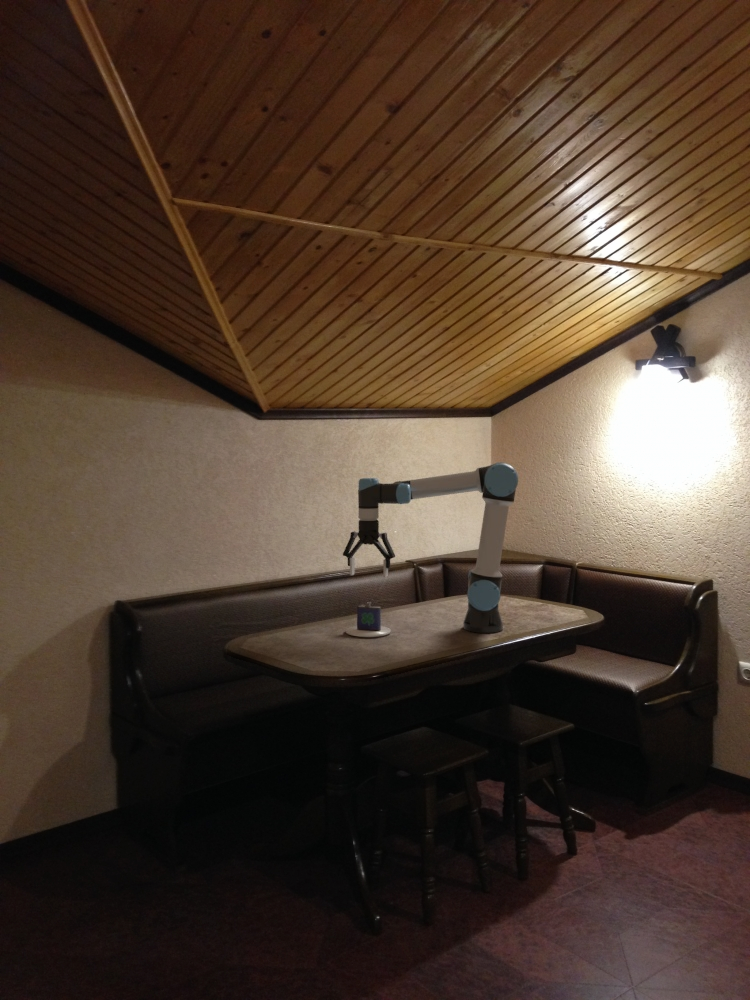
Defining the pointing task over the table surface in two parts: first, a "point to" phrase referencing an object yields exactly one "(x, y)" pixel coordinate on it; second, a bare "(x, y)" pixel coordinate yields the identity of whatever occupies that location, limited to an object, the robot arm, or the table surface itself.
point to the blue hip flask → (368, 618)
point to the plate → (368, 632)
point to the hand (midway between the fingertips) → (368, 576)
